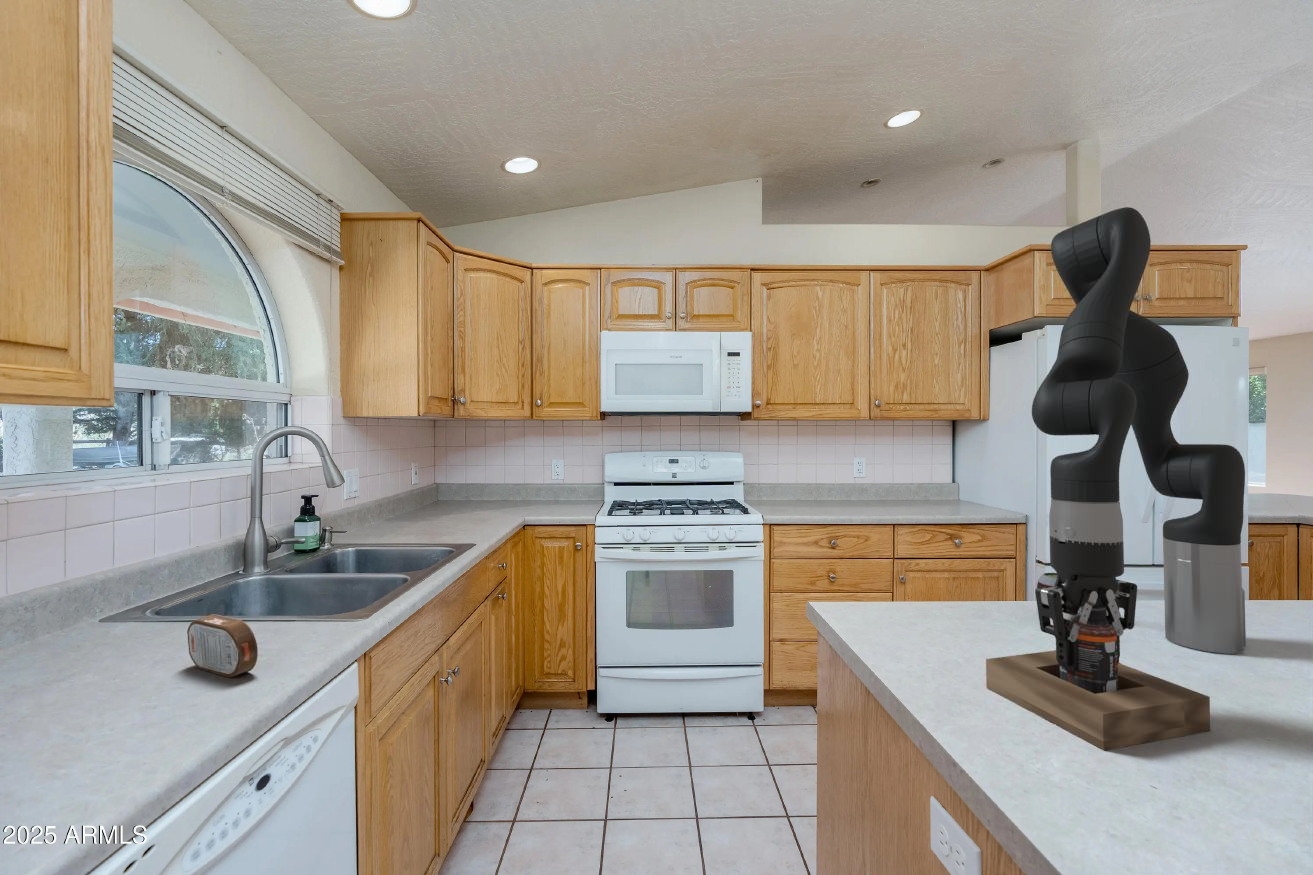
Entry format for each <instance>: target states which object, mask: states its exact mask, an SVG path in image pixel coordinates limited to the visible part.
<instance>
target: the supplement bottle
mask: <svg viewBox="0 0 1313 875" xmlns="http://www.w3.org/2000/svg"><path fill="white" fill-rule="evenodd" d="M1067 612H1068V614H1070V615H1073V616H1074V615H1077V614H1076V613H1073V612H1070V611H1069V610H1068V609H1067ZM1106 617H1107V615H1106V608H1105V607H1097V608H1092V609H1091V612H1090V615H1089V618H1088V620H1087V623H1086V625H1085V626H1082V627H1081V628H1080V631H1079V634H1078V637H1077V640H1076V641H1077V642H1078V661H1079V669H1078V670H1074V671H1071V670H1068V669H1066V668H1064V667H1061V666H1060V679H1062V680H1065V681H1067V682H1069V683H1071V684H1074V685H1076V686H1078V687H1080V688H1083V689H1085V690H1087V691H1089V692H1092V693H1094V694H1098V693H1104V692H1111V691H1118V663H1117V662H1118V660H1117V633H1116V629H1115V628H1114V627H1113V626H1112V625H1111V624H1109V623H1108V621H1107V619H1106ZM1069 625H1070V621H1067V622H1066V624H1065V629H1066V630H1068V628H1069Z"/></svg>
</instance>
